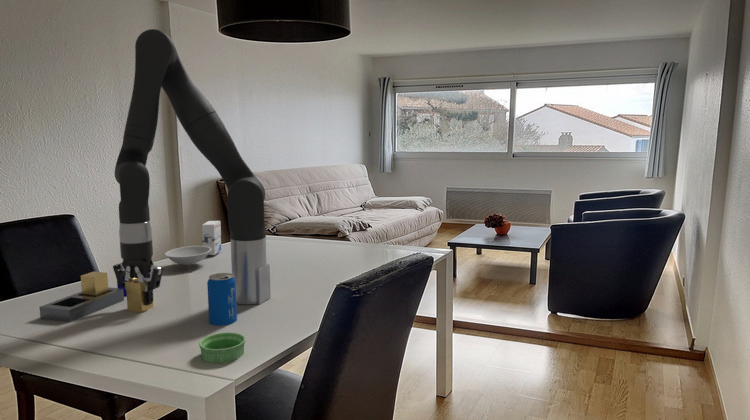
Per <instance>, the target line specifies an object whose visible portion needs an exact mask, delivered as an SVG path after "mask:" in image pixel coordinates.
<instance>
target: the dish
mask: <svg viewBox="0 0 750 420" xmlns="http://www.w3.org/2000/svg"><path fill="white" fill-rule="evenodd" d="M211 250H212V248H211V247H207V246H202V245H187V246H180V247H176V248H173V249H170V250H168V251H165V253H164V256H165V257H167V258H168V259H169V260H170V261H171V262H173V263H175V264H178V265H186V266H188V267H189V266H193V265H194V264H196V263H199V262H201V261H203V260H204V259H205V258H206V257H208V256H209V255H208V254H209V252H210V251H211Z"/></svg>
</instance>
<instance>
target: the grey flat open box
mask: <svg viewBox="0 0 750 420" xmlns="http://www.w3.org/2000/svg"><path fill="white" fill-rule="evenodd" d="M108 289H109V293H106V294H103V295H101V296H98V297H88V296H82V291H80V292H76V293H73V294H71V295H68V296H66V297H63V298H60V299H57V300H54V301H51V302H49V303H46V304H43V305H41V306H40V305H39V315H40V316H39V317H40V318H39V319H40V320H44V319H46V320H47V321H53V320H54V322H65V323H71V322H74V321H77V320H79V319H82V318H84V317H87V316H90V315H92V314H94V313H98V312H99V311H101V310H105V309H106V308H109V307H112V306H114V305H117V304H119V303H122V302H123V301H125V296H124V292H123V289H120V288H117V287H109V286H108ZM46 320H45V321H46Z"/></svg>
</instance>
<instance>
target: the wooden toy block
mask: <svg viewBox="0 0 750 420" xmlns="http://www.w3.org/2000/svg"><path fill="white" fill-rule="evenodd" d="M144 279H146V278H144ZM147 285H148V282H147ZM144 292H145V291H144V289H143V283H140V282H139V279H138V278H137V279H135V280H132V281H129V282H126V294H127V296H126V304H127V305H126V307H127V311H128V312H137V313H143V312H146V311H148V310H150V309H152V308H154V306H155V304H154V301H153V302H152V304H150V305H148V306H146V305H145V302H144Z"/></svg>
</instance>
